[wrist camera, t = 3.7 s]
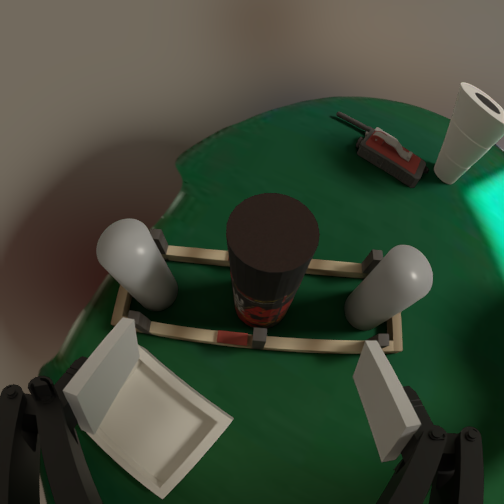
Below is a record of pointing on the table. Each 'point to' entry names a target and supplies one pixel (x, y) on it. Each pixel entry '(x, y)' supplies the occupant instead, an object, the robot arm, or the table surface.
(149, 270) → the cylinder
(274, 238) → the deodorant
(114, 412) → the tray
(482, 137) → the white tapered cylinder
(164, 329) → the frame
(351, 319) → the cylinder
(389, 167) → the walkie-talkie
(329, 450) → the table surface
